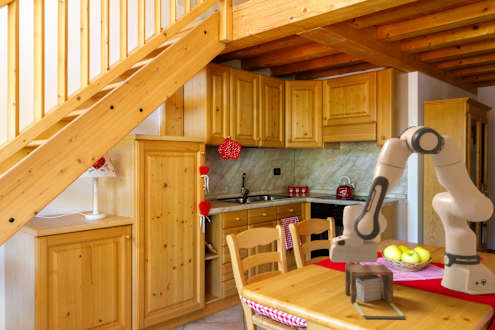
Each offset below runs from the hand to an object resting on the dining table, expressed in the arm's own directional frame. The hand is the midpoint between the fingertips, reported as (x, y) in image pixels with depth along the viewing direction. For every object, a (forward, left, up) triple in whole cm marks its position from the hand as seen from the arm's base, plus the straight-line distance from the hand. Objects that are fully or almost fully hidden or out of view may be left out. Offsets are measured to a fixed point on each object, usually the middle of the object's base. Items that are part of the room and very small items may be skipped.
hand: (353, 271), depth 166 cm
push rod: (0, +10, -3) cm, 11 cm away
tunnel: (0, +22, -4) cm, 23 cm away
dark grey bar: (0, +40, -4) cm, 41 cm away
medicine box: (0, +23, -4) cm, 23 cm away
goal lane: (0, +34, -4) cm, 34 cm away
